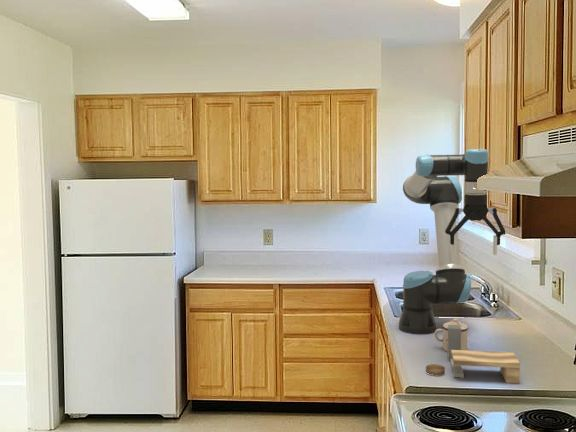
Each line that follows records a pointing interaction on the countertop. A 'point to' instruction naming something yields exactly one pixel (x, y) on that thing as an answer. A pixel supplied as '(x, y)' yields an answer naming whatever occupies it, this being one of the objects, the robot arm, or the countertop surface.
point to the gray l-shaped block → (454, 348)
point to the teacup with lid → (445, 334)
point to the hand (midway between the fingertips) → (474, 254)
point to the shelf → (490, 362)
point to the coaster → (435, 369)
